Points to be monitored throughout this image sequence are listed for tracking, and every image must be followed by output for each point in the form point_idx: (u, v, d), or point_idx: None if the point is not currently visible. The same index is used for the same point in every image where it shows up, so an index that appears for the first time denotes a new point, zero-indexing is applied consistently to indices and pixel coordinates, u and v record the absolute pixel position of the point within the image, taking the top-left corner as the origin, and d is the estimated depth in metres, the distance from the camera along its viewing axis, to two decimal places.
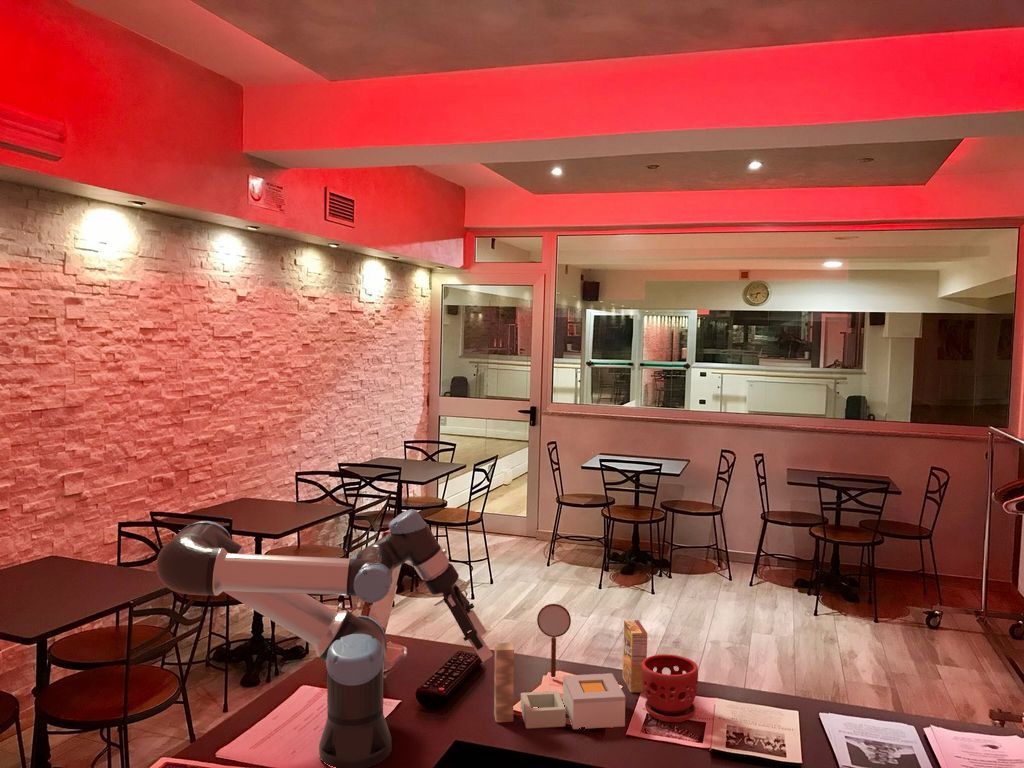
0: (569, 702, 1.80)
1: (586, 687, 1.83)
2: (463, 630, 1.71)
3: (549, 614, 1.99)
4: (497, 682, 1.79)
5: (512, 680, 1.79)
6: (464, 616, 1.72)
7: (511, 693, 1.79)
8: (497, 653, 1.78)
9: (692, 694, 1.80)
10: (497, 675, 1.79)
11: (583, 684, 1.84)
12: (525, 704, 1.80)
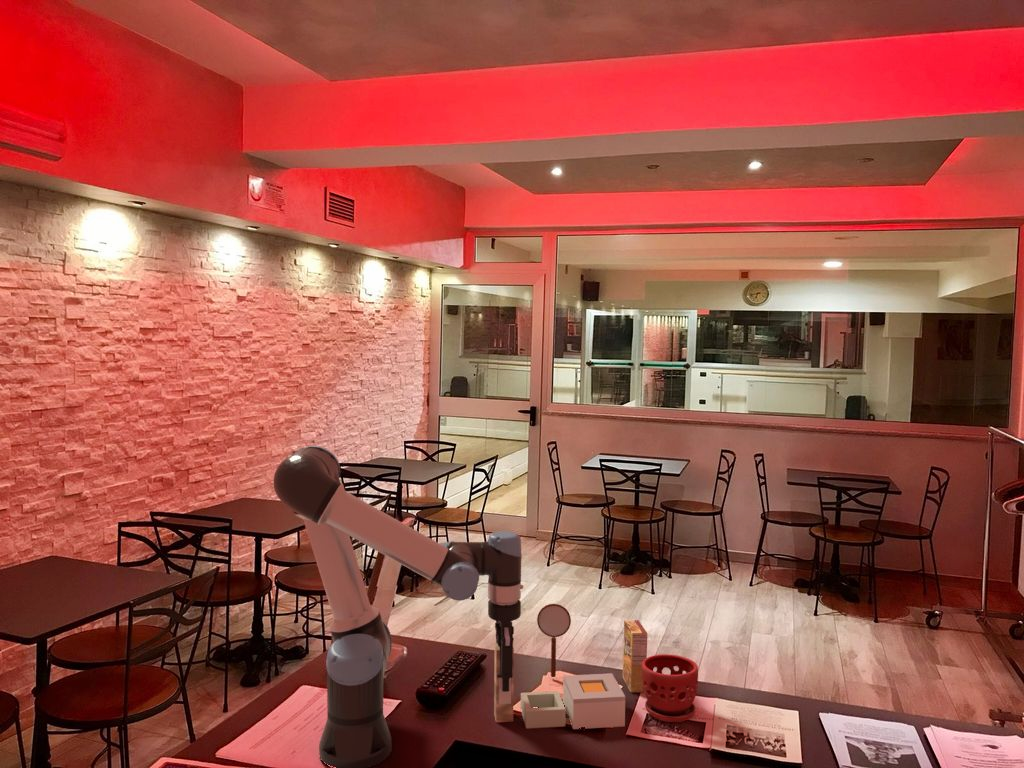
0: (569, 702, 1.80)
1: (586, 687, 1.83)
2: (503, 670, 1.75)
3: (549, 614, 1.99)
4: (497, 682, 1.79)
5: (512, 680, 1.79)
6: (511, 659, 1.75)
7: (511, 693, 1.79)
8: (497, 653, 1.78)
9: (692, 694, 1.80)
10: None
11: (583, 684, 1.84)
12: (525, 704, 1.80)
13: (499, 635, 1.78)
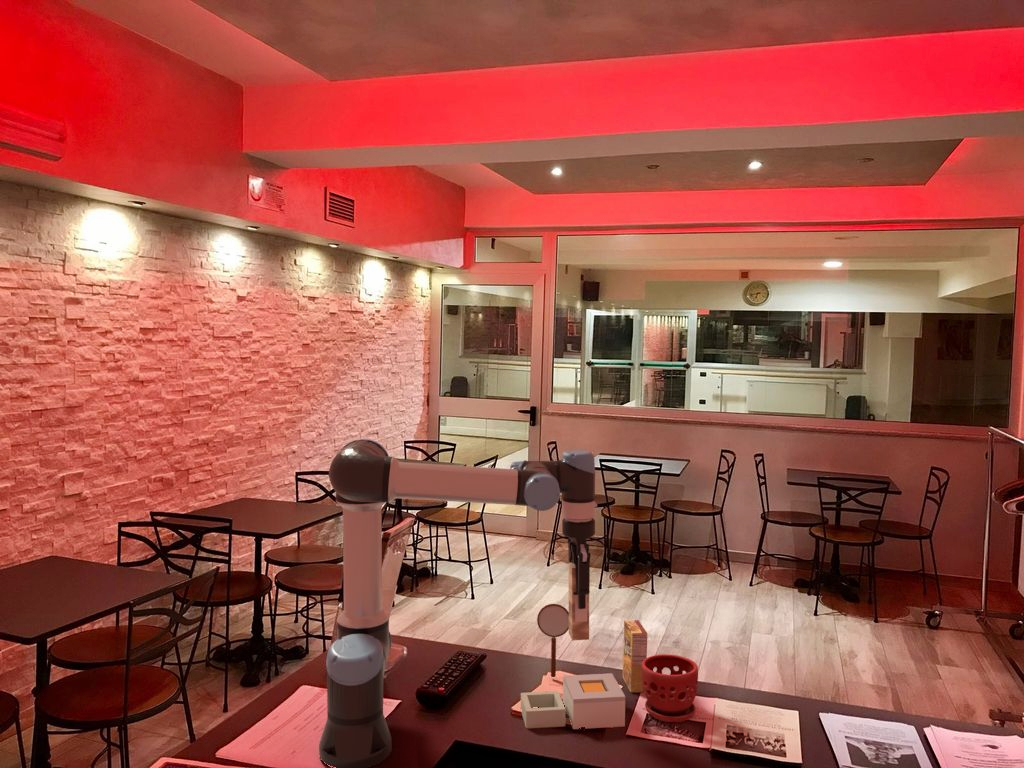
0: (569, 702, 1.80)
1: (586, 687, 1.83)
2: (580, 586, 1.75)
3: (549, 614, 1.99)
4: (573, 600, 1.79)
5: (588, 598, 1.79)
6: (588, 575, 1.75)
7: (587, 611, 1.79)
8: (572, 571, 1.78)
9: (692, 694, 1.80)
10: None
11: (583, 684, 1.84)
12: (525, 704, 1.80)
13: (574, 553, 1.78)
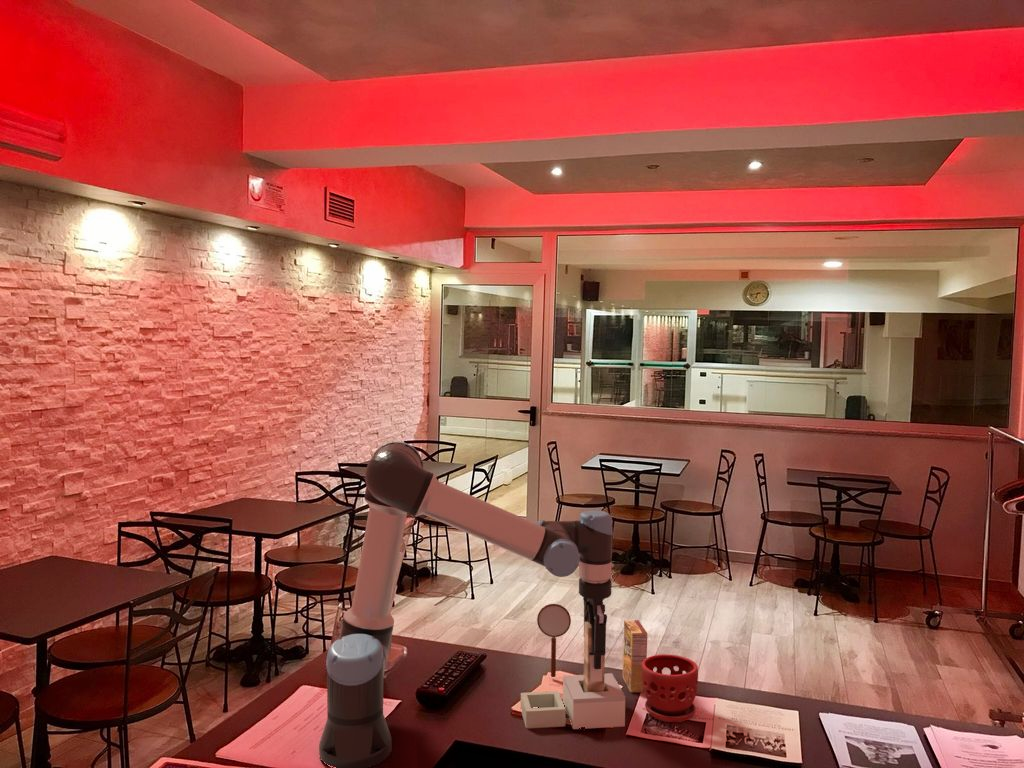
0: (569, 702, 1.80)
1: None
2: (596, 647, 1.76)
3: (549, 614, 1.99)
4: (589, 660, 1.80)
5: (603, 658, 1.80)
6: (604, 637, 1.76)
7: (602, 671, 1.81)
8: (589, 631, 1.80)
9: (692, 694, 1.80)
10: None
11: None
12: (525, 704, 1.80)
13: (591, 613, 1.79)
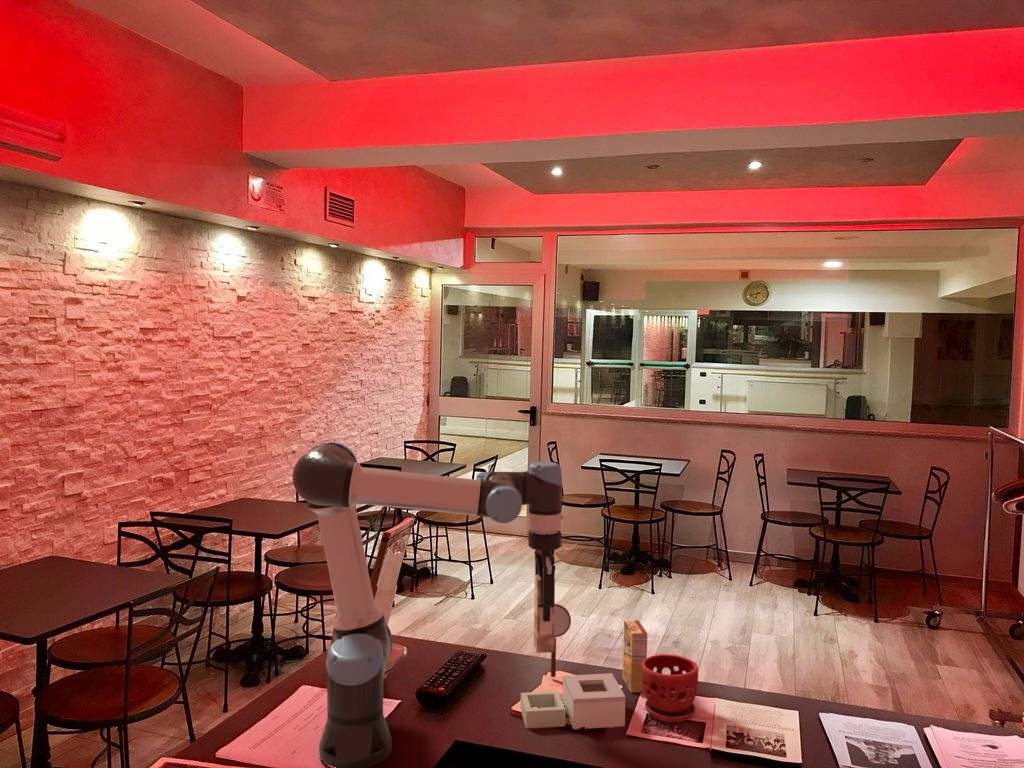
0: (569, 702, 1.80)
1: None
2: (545, 599, 1.74)
3: None
4: (538, 612, 1.78)
5: (553, 610, 1.78)
6: (552, 588, 1.74)
7: (552, 623, 1.78)
8: (538, 583, 1.77)
9: (692, 694, 1.80)
10: None
11: None
12: (525, 704, 1.80)
13: (540, 565, 1.77)
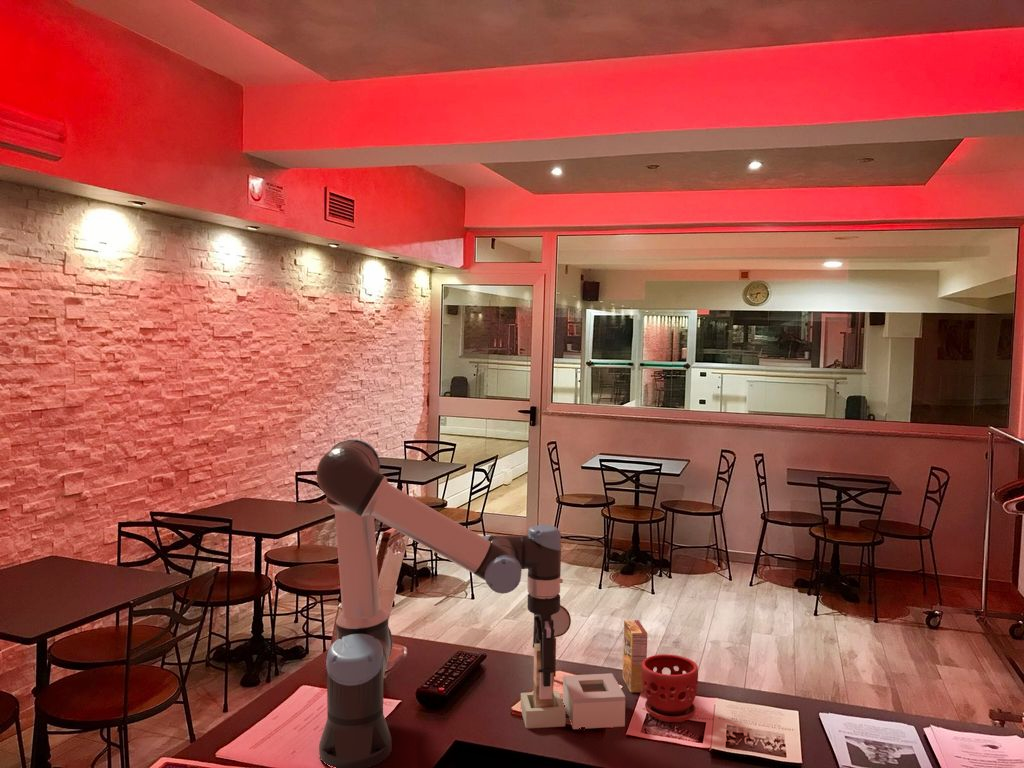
0: (569, 702, 1.80)
1: None
2: (545, 664, 1.73)
3: None
4: (537, 682, 1.79)
5: (552, 680, 1.79)
6: (552, 652, 1.74)
7: None
8: (537, 654, 1.78)
9: (692, 694, 1.80)
10: (537, 675, 1.78)
11: None
12: (525, 704, 1.80)
13: (539, 628, 1.78)
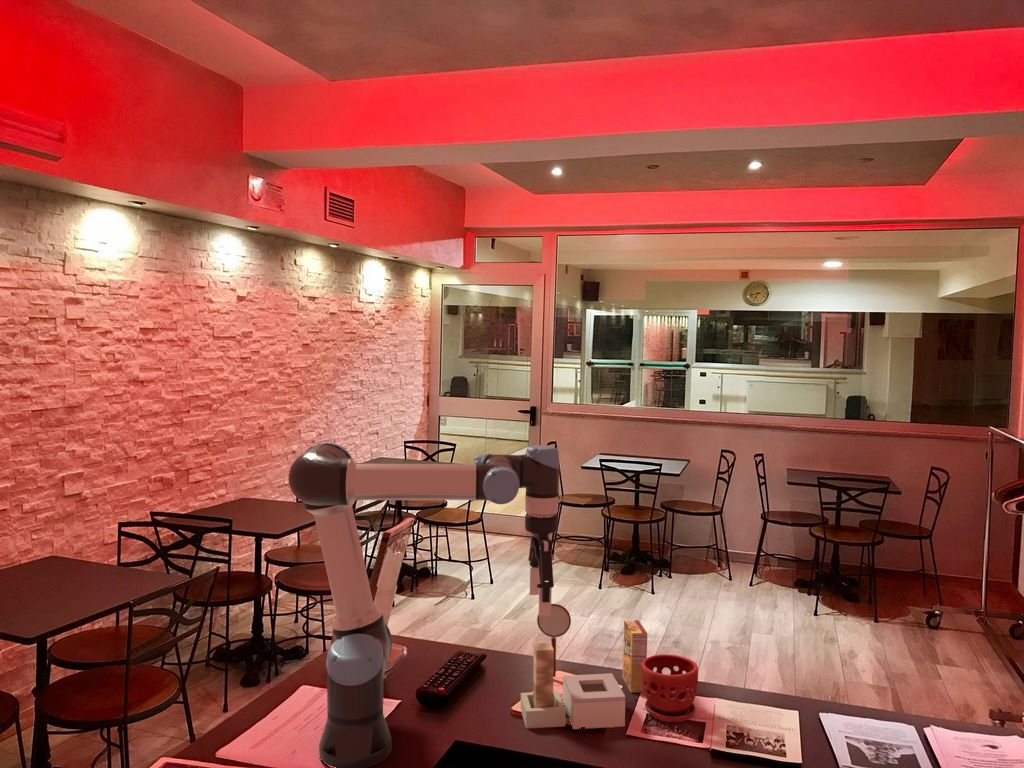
0: (569, 702, 1.80)
1: None
2: (543, 577, 1.70)
3: None
4: (537, 682, 1.79)
5: (552, 680, 1.79)
6: (550, 565, 1.71)
7: (551, 693, 1.79)
8: (537, 653, 1.78)
9: (692, 694, 1.80)
10: (537, 675, 1.79)
11: None
12: (525, 704, 1.80)
13: (536, 546, 1.76)
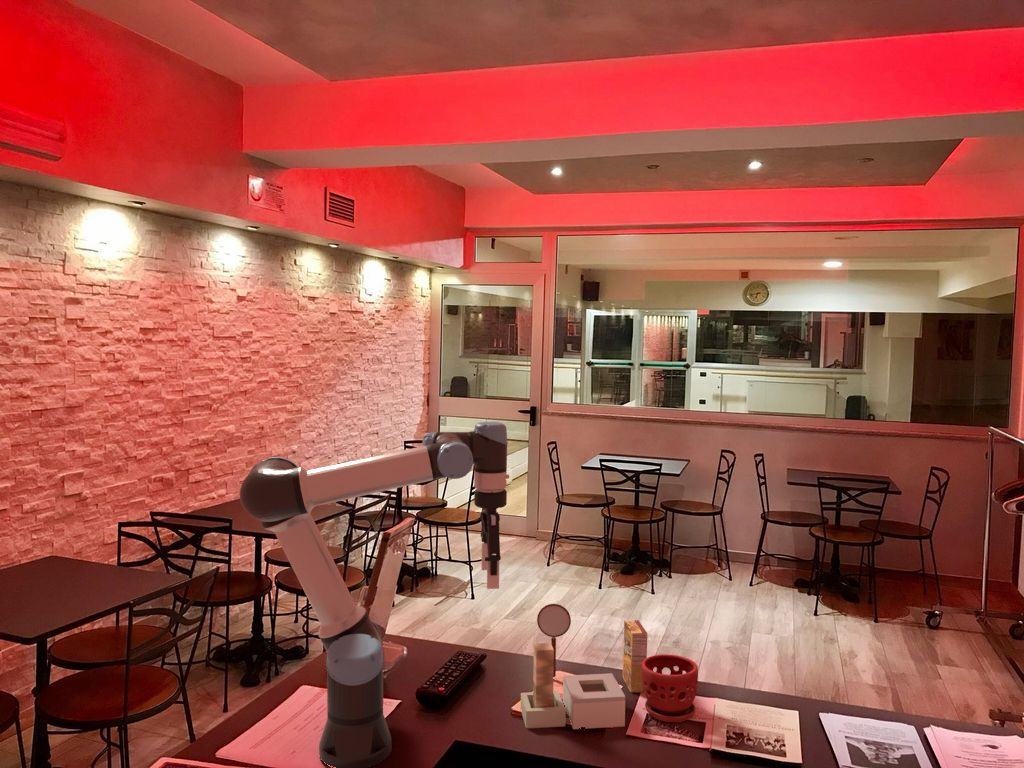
0: (569, 702, 1.80)
1: None
2: (490, 550, 1.73)
3: (549, 614, 1.99)
4: (537, 682, 1.79)
5: (552, 680, 1.79)
6: (497, 539, 1.74)
7: (551, 693, 1.79)
8: (537, 653, 1.78)
9: (692, 694, 1.80)
10: (537, 675, 1.79)
11: None
12: (525, 704, 1.80)
13: (485, 521, 1.79)
